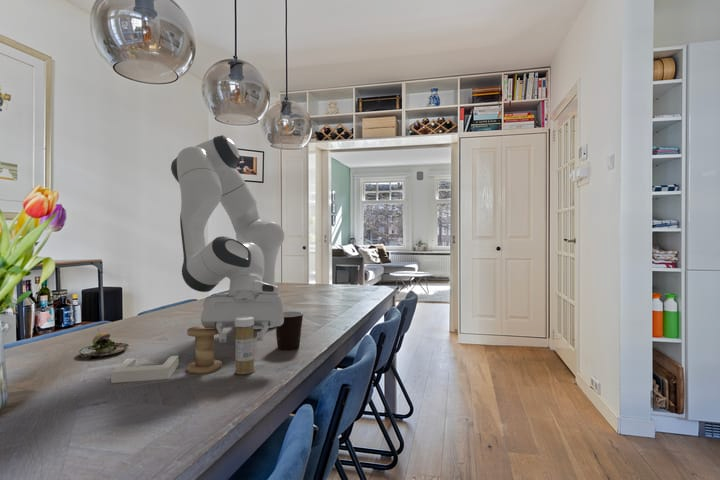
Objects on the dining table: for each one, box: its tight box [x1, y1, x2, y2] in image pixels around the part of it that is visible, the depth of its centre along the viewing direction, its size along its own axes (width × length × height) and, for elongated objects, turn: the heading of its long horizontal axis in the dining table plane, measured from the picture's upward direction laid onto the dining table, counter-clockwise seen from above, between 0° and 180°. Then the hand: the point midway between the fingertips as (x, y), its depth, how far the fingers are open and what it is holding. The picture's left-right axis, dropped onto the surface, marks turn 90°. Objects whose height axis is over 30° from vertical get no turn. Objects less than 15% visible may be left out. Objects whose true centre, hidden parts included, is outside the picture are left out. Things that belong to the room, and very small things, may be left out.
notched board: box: [110, 355, 179, 384], centre depth 95 cm, size 10×12×2 cm
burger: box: [78, 329, 130, 361], centre depth 112 cm, size 12×12×8 cm
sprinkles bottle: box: [234, 316, 255, 376], centre depth 97 cm, size 5×5×14 cm
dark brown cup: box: [274, 310, 304, 351], centre depth 120 cm, size 12×9×10 cm
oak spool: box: [186, 325, 223, 375], centre depth 99 cm, size 8×8×10 cm
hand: (241, 340), depth 96 cm, fingers open, 7 cm apart
